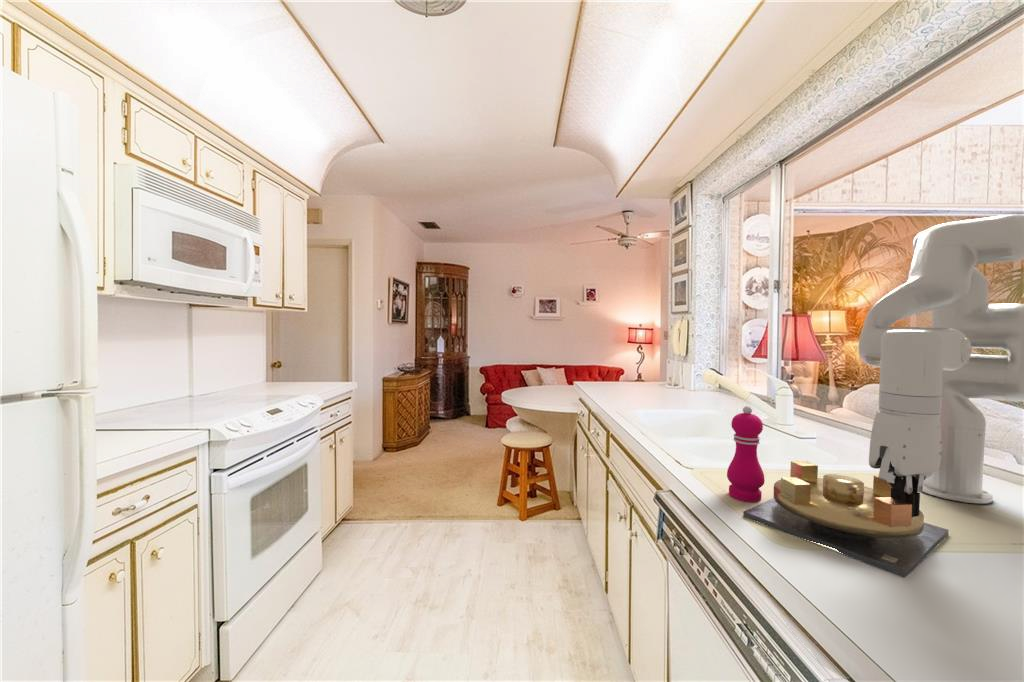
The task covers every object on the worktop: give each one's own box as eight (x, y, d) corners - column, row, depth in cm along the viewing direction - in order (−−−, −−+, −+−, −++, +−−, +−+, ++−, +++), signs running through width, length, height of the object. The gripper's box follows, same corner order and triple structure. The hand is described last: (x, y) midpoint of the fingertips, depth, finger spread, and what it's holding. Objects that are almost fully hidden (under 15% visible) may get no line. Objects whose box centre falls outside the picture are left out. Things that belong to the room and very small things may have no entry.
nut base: (799, 490, 96) (800, 477, 96) (948, 535, 76) (949, 518, 76) (743, 516, 83) (743, 501, 83) (905, 578, 63) (905, 558, 63)
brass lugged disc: (917, 506, 81) (919, 478, 81) (930, 553, 64) (932, 517, 64) (782, 478, 95) (783, 454, 95) (763, 511, 78) (764, 481, 78)
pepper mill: (769, 505, 89) (772, 410, 88) (732, 501, 90) (734, 408, 89) (756, 491, 96) (759, 403, 95) (722, 489, 97) (724, 402, 96)
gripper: (914, 397, 75) (909, 499, 76) (851, 402, 71) (847, 509, 72) (969, 406, 68) (963, 517, 69) (902, 411, 64) (897, 530, 65)
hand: (904, 513), depth 71 cm, fingers closed
